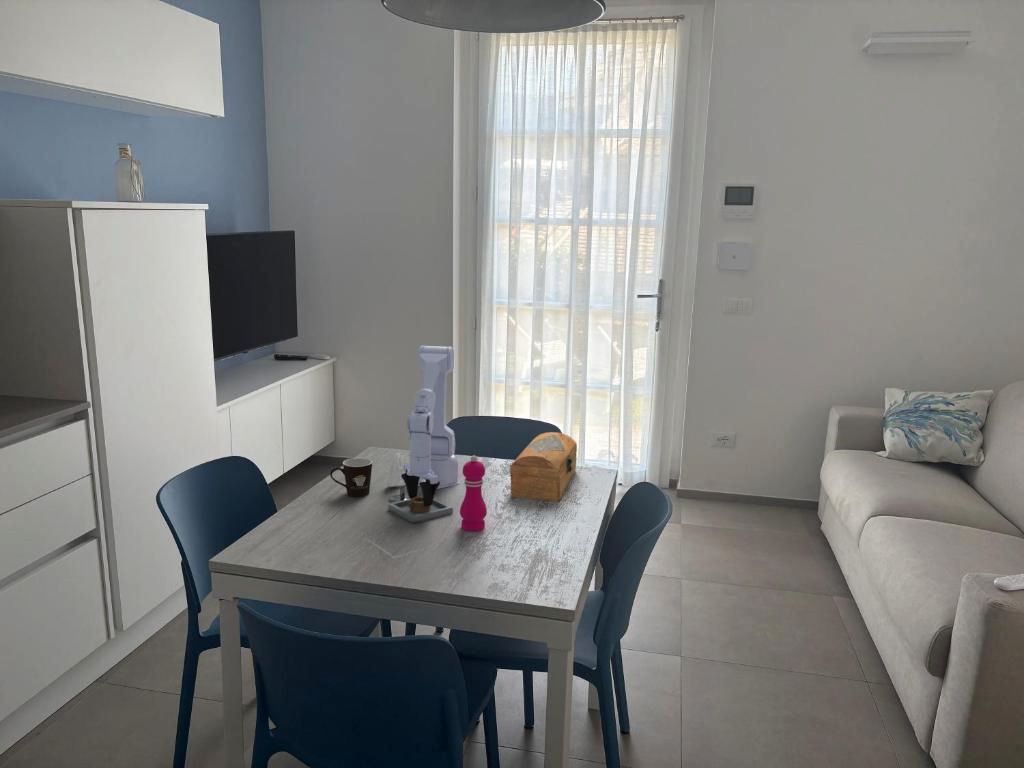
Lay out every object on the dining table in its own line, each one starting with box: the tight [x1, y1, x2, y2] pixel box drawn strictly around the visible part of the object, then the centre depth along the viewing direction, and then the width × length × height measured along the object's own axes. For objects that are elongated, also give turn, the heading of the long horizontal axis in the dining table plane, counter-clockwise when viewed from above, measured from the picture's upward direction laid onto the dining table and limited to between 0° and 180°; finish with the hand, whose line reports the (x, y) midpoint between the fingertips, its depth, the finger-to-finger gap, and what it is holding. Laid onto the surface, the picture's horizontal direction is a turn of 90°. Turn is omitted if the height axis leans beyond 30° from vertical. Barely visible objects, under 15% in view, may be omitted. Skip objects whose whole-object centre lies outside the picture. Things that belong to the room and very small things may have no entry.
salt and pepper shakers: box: [386, 452, 424, 488], centre depth 241 cm, size 12×4×11 cm, turn 115°
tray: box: [387, 497, 454, 525], centre depth 222 cm, size 13×13×2 cm
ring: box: [408, 495, 431, 513], centre depth 222 cm, size 5×8×3 cm
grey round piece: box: [388, 483, 410, 503], centre depth 230 cm, size 8×8×5 cm
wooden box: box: [509, 431, 578, 503], centre depth 246 cm, size 30×16×14 cm, turn 165°
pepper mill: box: [459, 455, 488, 532], centre depth 210 cm, size 7×7×20 cm
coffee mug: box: [329, 457, 373, 498], centre depth 234 cm, size 12×9×10 cm
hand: (420, 501), depth 221 cm, fingers open, 7 cm apart
